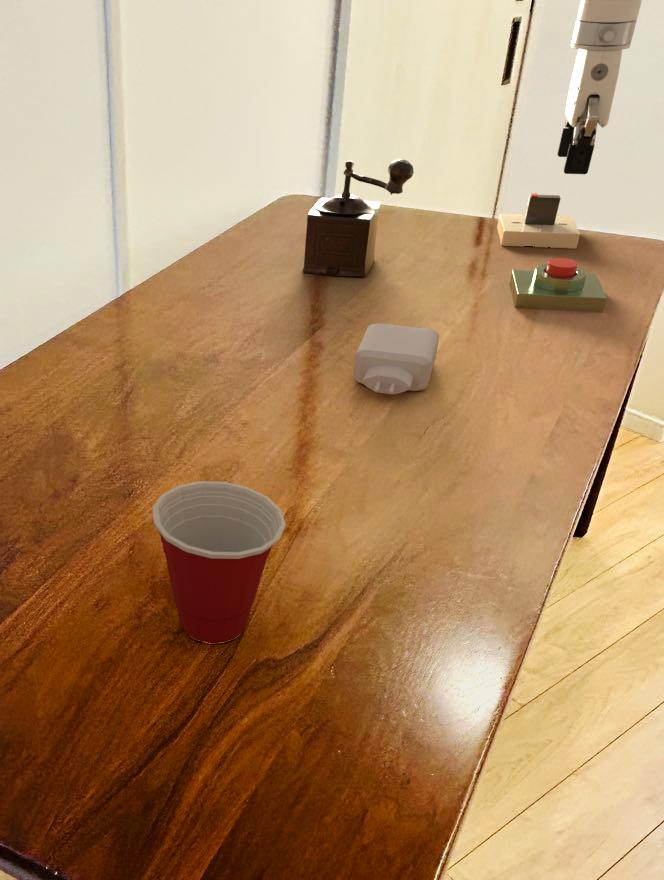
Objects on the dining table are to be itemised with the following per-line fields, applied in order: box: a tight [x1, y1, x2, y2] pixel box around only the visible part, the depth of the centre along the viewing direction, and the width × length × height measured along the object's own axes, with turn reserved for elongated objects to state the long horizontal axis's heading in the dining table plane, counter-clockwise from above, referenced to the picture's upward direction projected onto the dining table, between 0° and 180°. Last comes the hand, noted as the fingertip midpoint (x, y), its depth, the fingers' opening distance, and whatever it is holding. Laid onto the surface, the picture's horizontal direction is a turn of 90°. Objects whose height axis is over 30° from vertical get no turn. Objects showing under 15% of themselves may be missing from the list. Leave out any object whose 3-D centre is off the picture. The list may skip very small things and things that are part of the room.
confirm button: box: [546, 257, 579, 277], centre depth 133 cm, size 4×4×2 cm
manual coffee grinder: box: [302, 158, 415, 278], centre depth 144 cm, size 16×11×18 cm
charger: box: [352, 322, 440, 395], centre depth 114 cm, size 5×9×15 cm
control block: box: [508, 263, 608, 314], centre depth 135 cm, size 12×10×4 cm
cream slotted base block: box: [496, 213, 581, 250], centre depth 157 cm, size 12×10×3 cm
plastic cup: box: [152, 480, 287, 643], centre depth 76 cm, size 11×11×12 cm
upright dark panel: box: [524, 192, 562, 225], centre depth 155 cm, size 5×2×5 cm, turn 76°
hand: (571, 164), depth 135 cm, fingers open, 9 cm apart
